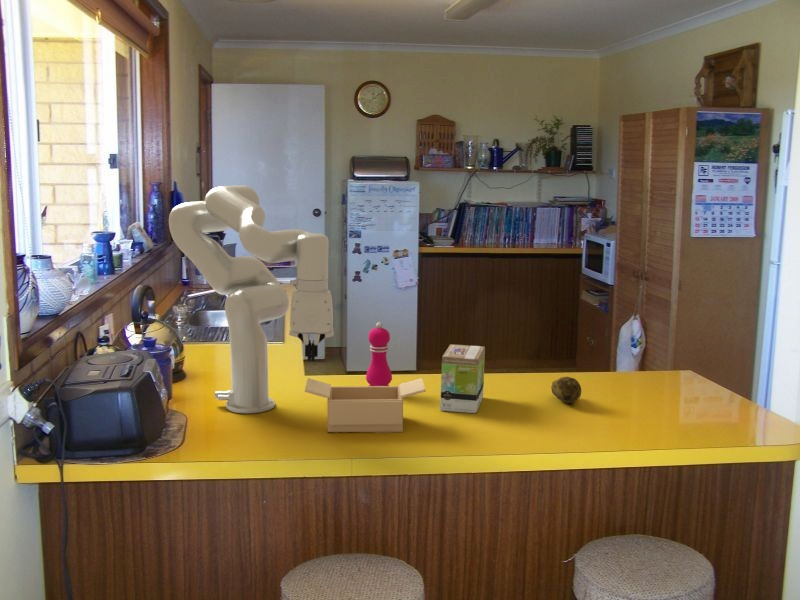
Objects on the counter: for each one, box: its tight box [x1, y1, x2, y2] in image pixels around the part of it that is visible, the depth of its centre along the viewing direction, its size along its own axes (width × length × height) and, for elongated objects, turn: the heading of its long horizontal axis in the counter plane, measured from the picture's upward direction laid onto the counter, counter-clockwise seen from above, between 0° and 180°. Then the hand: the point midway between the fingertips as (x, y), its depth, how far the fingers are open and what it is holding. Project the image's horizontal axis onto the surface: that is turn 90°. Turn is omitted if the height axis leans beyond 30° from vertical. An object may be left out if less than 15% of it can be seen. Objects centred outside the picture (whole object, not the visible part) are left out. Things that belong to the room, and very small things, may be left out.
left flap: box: [304, 377, 332, 400], centre depth 206 cm, size 1×10×6 cm
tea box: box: [439, 344, 486, 414], centre depth 224 cm, size 15×10×15 cm, turn 168°
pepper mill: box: [365, 321, 393, 386], centre depth 233 cm, size 7×7×20 cm
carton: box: [326, 385, 404, 433], centre depth 208 cm, size 18×13×8 cm
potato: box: [551, 376, 582, 404], centre depth 226 cm, size 8×13×8 cm, turn 166°
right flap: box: [398, 377, 426, 399], centre depth 207 cm, size 1×10×6 cm
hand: (311, 359), depth 205 cm, fingers closed
